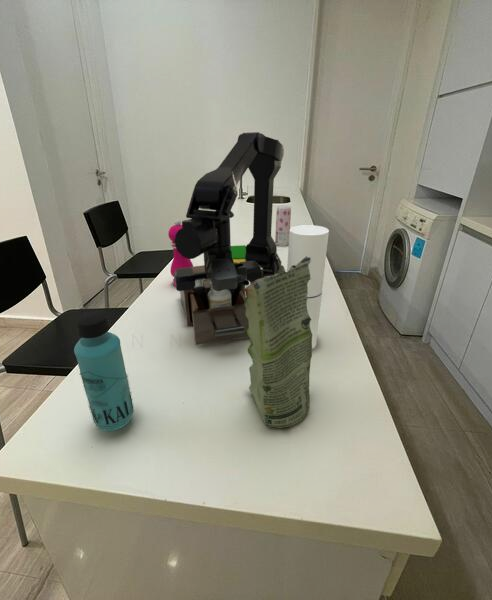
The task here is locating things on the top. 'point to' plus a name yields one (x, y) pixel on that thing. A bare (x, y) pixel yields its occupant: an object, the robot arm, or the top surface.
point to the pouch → (280, 344)
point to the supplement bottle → (219, 298)
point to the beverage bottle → (103, 372)
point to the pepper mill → (178, 258)
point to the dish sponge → (238, 253)
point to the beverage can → (282, 225)
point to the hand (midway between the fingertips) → (219, 309)
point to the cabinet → (185, 293)
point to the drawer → (218, 320)
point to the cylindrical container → (310, 265)
